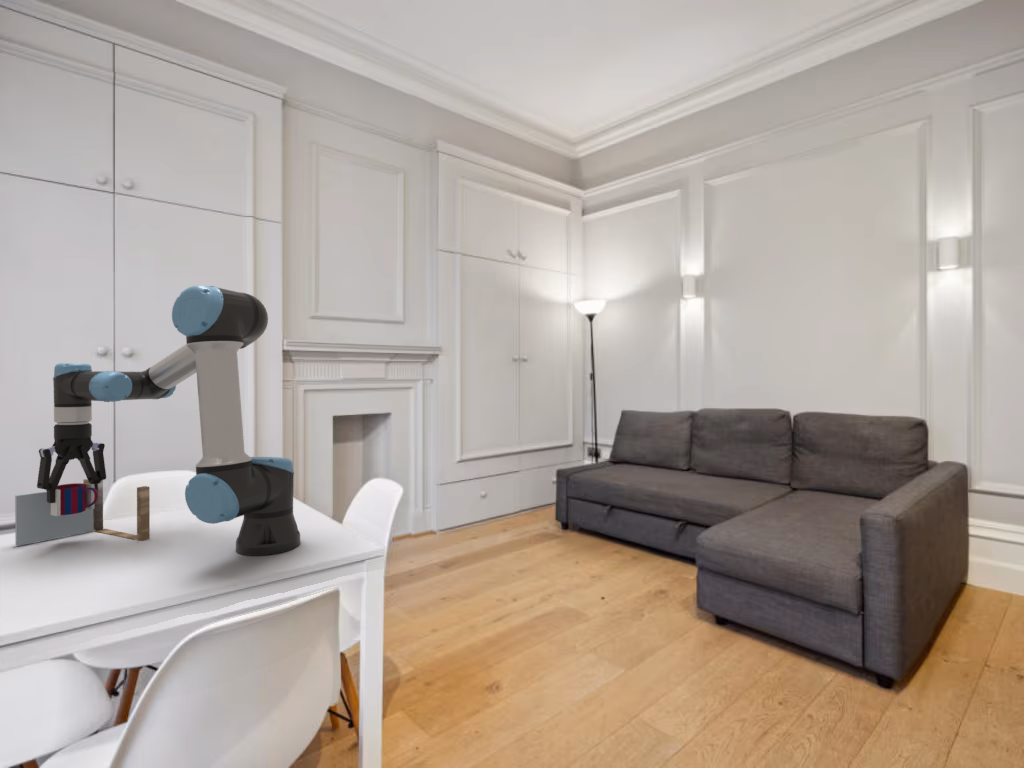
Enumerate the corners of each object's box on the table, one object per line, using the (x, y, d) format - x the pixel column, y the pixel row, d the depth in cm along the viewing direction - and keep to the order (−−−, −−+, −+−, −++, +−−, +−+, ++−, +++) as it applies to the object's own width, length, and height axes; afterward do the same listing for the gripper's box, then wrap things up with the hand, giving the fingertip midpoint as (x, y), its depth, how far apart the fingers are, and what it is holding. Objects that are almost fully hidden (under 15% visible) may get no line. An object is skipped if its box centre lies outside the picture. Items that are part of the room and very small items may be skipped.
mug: (66, 508, 141) (66, 483, 141) (104, 509, 141) (104, 483, 141) (44, 515, 134) (44, 488, 134) (84, 515, 135) (84, 489, 134)
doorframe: (150, 538, 142) (150, 482, 142) (141, 541, 140) (140, 484, 140) (91, 526, 153) (91, 474, 153) (82, 528, 151) (81, 476, 151)
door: (89, 529, 149) (89, 484, 149) (93, 530, 148) (93, 485, 148) (13, 543, 136) (13, 494, 136) (17, 545, 135) (16, 496, 135)
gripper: (106, 419, 147) (106, 501, 148) (16, 425, 129) (17, 519, 130) (123, 420, 144) (123, 504, 145) (33, 427, 126) (34, 523, 127)
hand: (73, 511), depth 137 cm, fingers closed on mug, 7 cm apart
